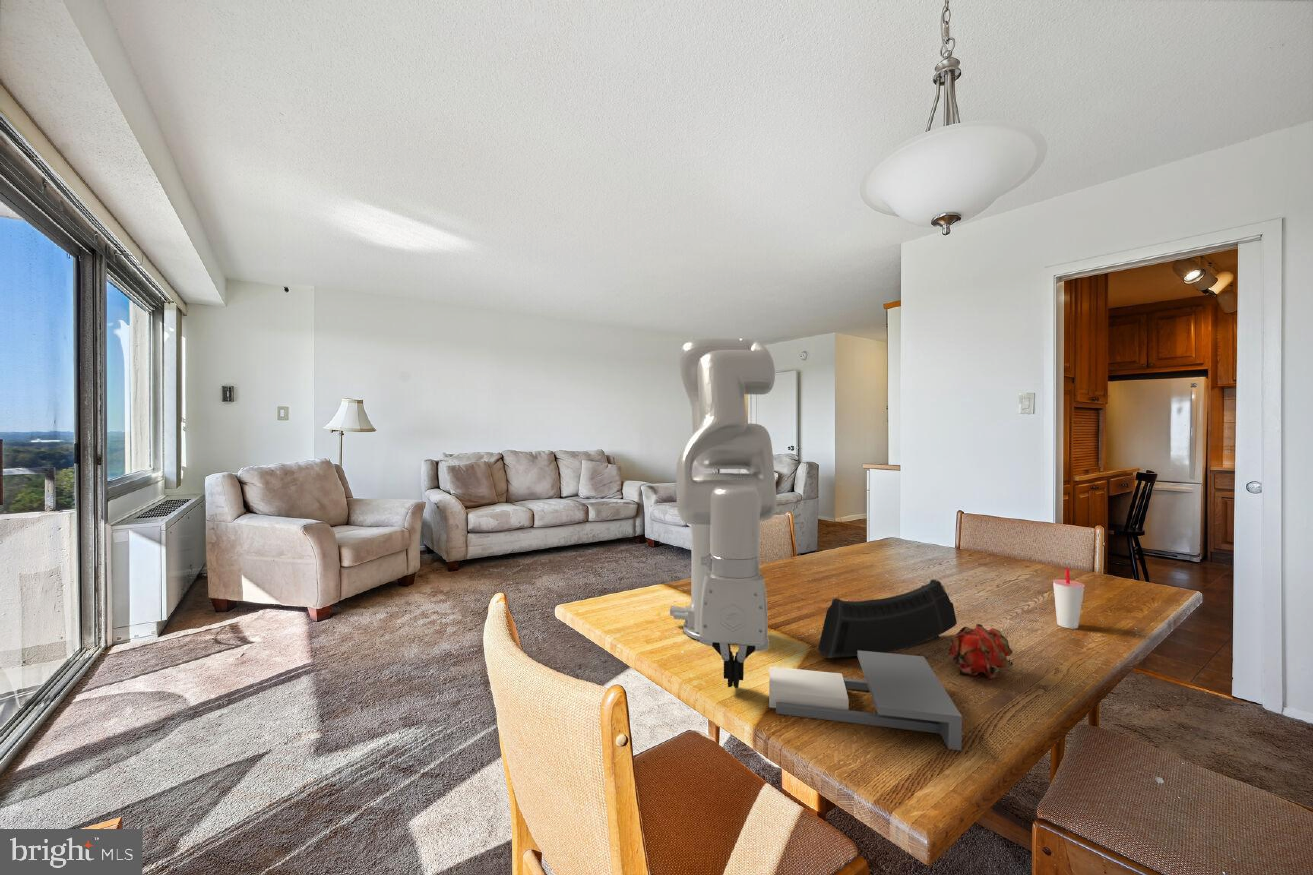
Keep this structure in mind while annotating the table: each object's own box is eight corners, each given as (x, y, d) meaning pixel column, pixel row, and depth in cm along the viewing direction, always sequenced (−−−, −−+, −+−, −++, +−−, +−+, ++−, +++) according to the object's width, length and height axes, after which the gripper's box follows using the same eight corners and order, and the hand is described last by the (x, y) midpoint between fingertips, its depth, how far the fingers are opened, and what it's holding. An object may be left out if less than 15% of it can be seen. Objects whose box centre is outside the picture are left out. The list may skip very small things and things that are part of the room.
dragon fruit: (1007, 676, 91) (963, 701, 86) (966, 634, 97) (922, 655, 92) (1036, 649, 86) (991, 674, 81) (991, 606, 92) (946, 627, 87)
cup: (1046, 623, 112) (1047, 566, 111) (1059, 619, 114) (1061, 563, 114) (1075, 632, 107) (1077, 573, 107) (1089, 627, 109) (1090, 569, 109)
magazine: (819, 614, 91) (943, 547, 102) (806, 608, 94) (928, 544, 105) (841, 706, 93) (960, 631, 104) (828, 697, 96) (945, 625, 107)
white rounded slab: (769, 707, 78) (769, 690, 78) (769, 681, 86) (769, 666, 86) (848, 716, 76) (848, 699, 75) (841, 689, 83) (841, 673, 83)
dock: (775, 726, 73) (776, 695, 73) (776, 668, 90) (776, 642, 90) (961, 750, 68) (962, 716, 68) (923, 683, 85) (923, 656, 85)
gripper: (682, 569, 80) (682, 689, 81) (784, 575, 77) (783, 701, 77) (690, 557, 88) (689, 668, 88) (783, 562, 85) (782, 677, 85)
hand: (733, 683), depth 83 cm, fingers closed
